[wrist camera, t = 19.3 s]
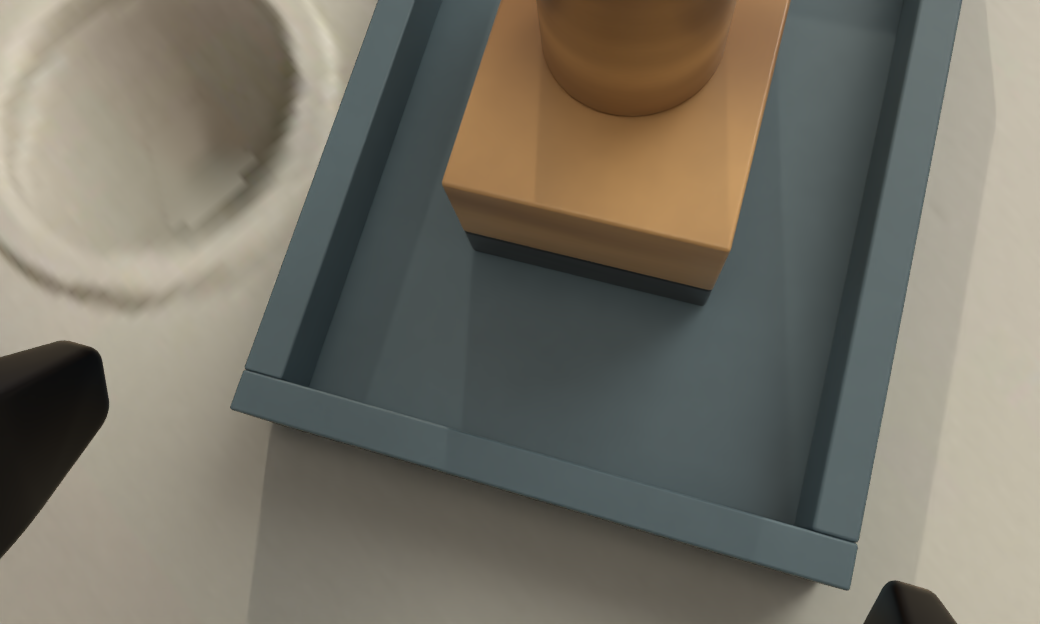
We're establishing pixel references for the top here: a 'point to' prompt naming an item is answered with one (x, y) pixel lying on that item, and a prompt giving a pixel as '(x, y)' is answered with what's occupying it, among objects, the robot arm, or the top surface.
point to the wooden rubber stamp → (616, 137)
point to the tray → (621, 300)
